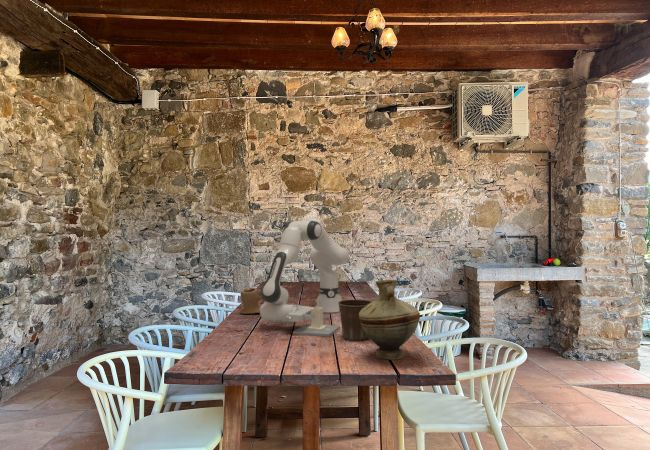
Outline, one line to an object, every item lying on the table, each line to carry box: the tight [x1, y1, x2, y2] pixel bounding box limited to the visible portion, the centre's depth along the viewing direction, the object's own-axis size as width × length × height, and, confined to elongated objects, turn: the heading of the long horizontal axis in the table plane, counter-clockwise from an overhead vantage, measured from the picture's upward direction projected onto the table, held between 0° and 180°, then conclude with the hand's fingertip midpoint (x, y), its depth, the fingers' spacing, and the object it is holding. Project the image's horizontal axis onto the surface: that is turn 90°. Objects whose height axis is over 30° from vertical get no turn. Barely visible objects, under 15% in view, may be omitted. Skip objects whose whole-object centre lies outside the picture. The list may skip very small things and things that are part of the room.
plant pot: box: [338, 299, 373, 342], centre depth 197 cm, size 16×16×16 cm
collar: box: [307, 306, 328, 331], centre depth 210 cm, size 8×8×10 cm
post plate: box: [292, 323, 341, 338], centre depth 210 cm, size 18×18×8 cm
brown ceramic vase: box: [359, 279, 421, 361], centre depth 168 cm, size 24×24×30 cm
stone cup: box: [239, 287, 261, 315], centre depth 255 cm, size 15×12×15 cm
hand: (317, 315), depth 210 cm, fingers open, 8 cm apart
